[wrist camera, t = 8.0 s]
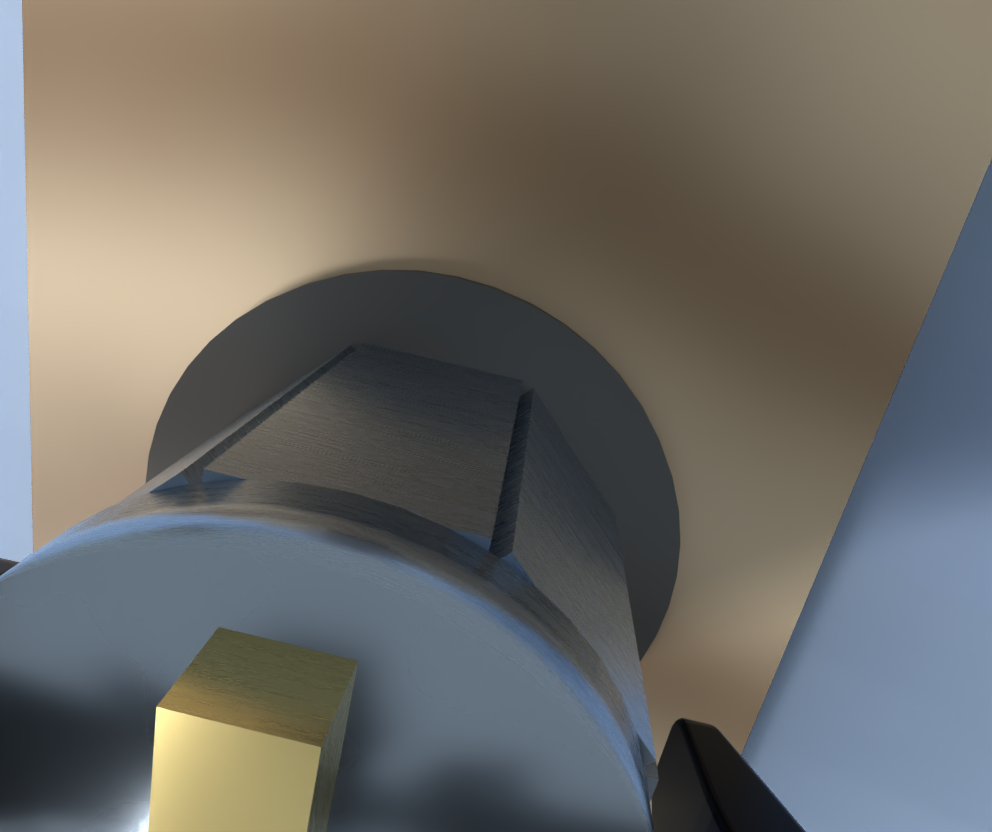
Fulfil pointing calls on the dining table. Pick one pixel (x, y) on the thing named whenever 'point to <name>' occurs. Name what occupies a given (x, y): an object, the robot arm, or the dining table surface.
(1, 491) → the dining table surface
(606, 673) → the cap
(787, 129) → the board
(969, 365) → the dining table surface
